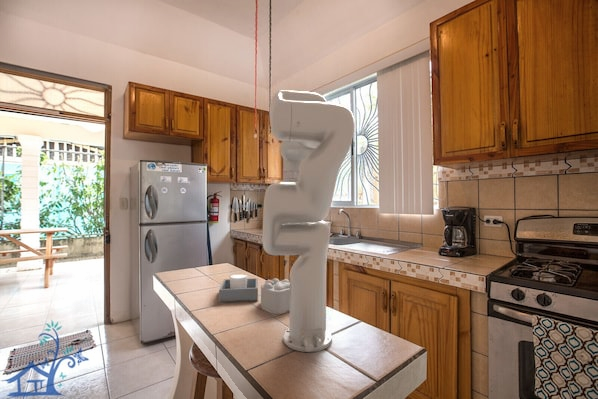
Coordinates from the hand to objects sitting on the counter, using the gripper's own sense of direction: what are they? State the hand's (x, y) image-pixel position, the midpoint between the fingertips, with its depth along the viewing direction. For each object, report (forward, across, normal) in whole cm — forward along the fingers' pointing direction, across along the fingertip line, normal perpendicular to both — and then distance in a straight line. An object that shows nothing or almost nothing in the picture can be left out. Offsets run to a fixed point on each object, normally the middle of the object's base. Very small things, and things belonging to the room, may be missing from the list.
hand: (292, 223), depth 100 cm
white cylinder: (+28, +20, -7) cm, 35 cm away
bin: (+28, +20, -7) cm, 35 cm away
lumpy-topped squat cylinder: (+29, +6, +5) cm, 30 cm away
